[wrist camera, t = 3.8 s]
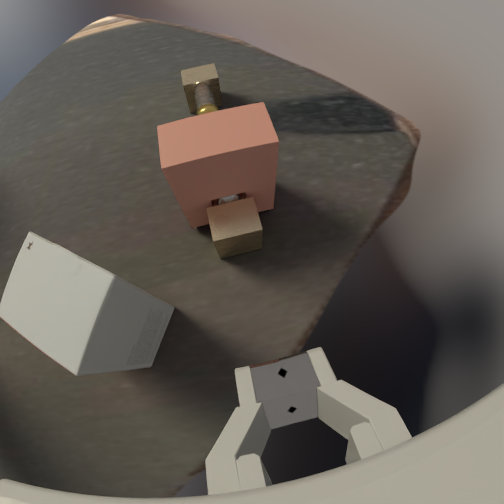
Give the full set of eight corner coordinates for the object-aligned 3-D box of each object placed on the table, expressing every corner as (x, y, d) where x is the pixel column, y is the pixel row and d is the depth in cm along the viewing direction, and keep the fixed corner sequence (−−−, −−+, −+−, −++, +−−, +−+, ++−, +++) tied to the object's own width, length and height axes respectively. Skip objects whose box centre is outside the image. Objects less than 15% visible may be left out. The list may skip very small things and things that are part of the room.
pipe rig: (262, 248, 29) (262, 229, 25) (220, 258, 29) (213, 241, 24) (218, 91, 36) (214, 63, 31) (187, 97, 36) (180, 70, 31)
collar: (273, 208, 30) (278, 141, 20) (192, 228, 29) (161, 168, 19) (262, 174, 31) (263, 102, 21) (185, 192, 31) (157, 126, 21)
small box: (85, 332, 27) (-7, 314, 14) (108, 275, 29) (27, 227, 16) (152, 369, 26) (76, 378, 13) (177, 307, 28) (116, 272, 15)
